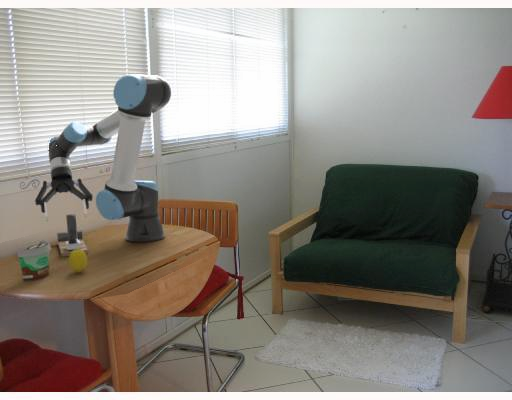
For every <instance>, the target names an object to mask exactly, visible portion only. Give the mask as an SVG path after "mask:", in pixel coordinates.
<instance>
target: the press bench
mask: <svg viewBox="0 0 512 400" xmlns="http://www.w3.org/2000/svg"><path fill="white" fill-rule="evenodd" d="M56 234H57V244H58V245H57V246H58V248H59V253H60V257H62V258H65V257H69V256H70V254H71V252H72V251H74V250H76V249H72V250H67V249H66V243H65V241H68V231H61V232H57V233H56ZM77 238H78V240H80V242H81V248H80V250H83V251H84V252H85V253H86V255H88V254H89V251H88V247H87V245H86V244H85V241H84V238H83V230H81V229H80V230H77Z"/></svg>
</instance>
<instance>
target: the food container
mask: <svg viewBox="0 0 512 400" xmlns="http://www.w3.org/2000/svg"><path fill="white" fill-rule="evenodd" d="M51 250H52V248H51V245H50V243H49V242H48V241H45V240H39V243H38V244H36V245H31V246H29V247H27V248H25V249H18V251H17V258H19V263H20V268H21V274H22V280H23V281H24V282H25V281H29V282H30V281H36V280H41V279H44V278H46V277H48V276H49V275H50V251H51Z"/></svg>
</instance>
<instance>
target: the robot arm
mask: <svg viewBox="0 0 512 400" xmlns="http://www.w3.org/2000/svg"><path fill="white" fill-rule="evenodd" d="M112 95H113V99H114V102H115V104H116V105H117V109H116V110H114V111H113V112H112V113H109V115H107V116H106V117H104V118H102V119H101V120H100V121H98V122H97V123H95V124H94V125H91V126H84V124H82V123H79V122H78V121H73V122H70V123H69V124H68V125H67V126H65V128H64V130H63V131H62V132H61V133H60V135H59V136H58V135H57V136H53V138H50V139H51V140H50V139H49V140H50V143H49V150H48V149H47V152H48V151H49V153H48V159H49V160H48V161H49V167H50V168H49V169H50V177H51V178H50V179H51V182H47V181H46V180H44V181H42V186H41V189H40V190H39V192H38V194H37V196H36V198H35V200H34V201H35V205H36V206H40V209H41V210H40V211H41V213H44V216H45V221H46V222H48V221H49V216H48V207H47V206H48V205H47V203H48V202H49V201H50V200H51V199H52V198H53V196H55V195H57V194H58V193H59V194H63V193H68V192H69V193H70V194H73V195H75V196H76V197H77V198H79V199H80V200H81V201H82V208H83V215H84V218H87V217H88V211H87V210H89V208H90V204H89V202H92V201H93V199H94V198H93V194H92V193H91V192H90V191H89V189H88V188H87V186H86V185H85V184H84V183H83V182H82V179H81V178H78V179H77V180H74V179H73V173H72V166H71V159H70V156H71V154H72V153H73V152H74V151H75V150H76V148H78V147H86V146H96V145H97V146H98V145H100V146H101V145H105V144H108V143H110V142H111V139H112V137H113V136H114V135H116V134H117V138H116V143H115V149H114V156H113V162H112V167H111V173H110V177H109V178H108V179H106V180H105V182H104V188H103V189H101V190H100V191H99V192H98V193H97V194H96V196H95V205H96V209H97V211H98V212H99V214H100V215H101V216H102V217H103V218H104V219H106V220H108V221H116V220H121V219H124V218H127V217H129V218H128V219H129V220H128V224H127V229H126V232H125V238H126V241H128V242H134V243H135V242H136V243H144V242H145V243H147V242H154V241H158V240H161V239H163V238H164V237H165V235H166V234H165V229H164V228H163V224H162V221H161V219H160V211H159V210H160V207H159V206H160V205H159V189H158V183H157V182H155V181H153V180H138V179H137V180H135V179H136V173H137V168H138V163H139V157H140V152H141V147H142V142H143V135H144V131H145V130H144V129H145V126H146V121H147V120H148V119H150V118H151V116H152V114H155V113H156V112H158V111H160V110H161V109H162V108H164V107H165V106H167V104H168V103H169V102H170V100H171V97H172V89H171V86H170V84H169V82H168V81H167V80H166V79H165V78H163V77H162V76H159V75H157V74H156V75H155V74H151V75H149V74H138V73H131V74H125V75H123V76H121V77H120V78H119V79H118V80H117V81H116V82H115V84H114V87H113V93H112ZM56 145H57V146H56ZM49 187H51V189H50V190H49V191H48V190H47V189H49ZM76 187H78V188H79V189H77V188H76ZM47 191H48V192H47ZM46 192H47V193H46ZM45 193H46V194H45Z"/></svg>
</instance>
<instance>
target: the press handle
mask: <svg viewBox="0 0 512 400" xmlns="http://www.w3.org/2000/svg"><path fill="white" fill-rule="evenodd" d="M65 217H66V230H67V231H66V232H68V241H65V243H66V249H67V250H72V249H76V248H78V249H80V248H81V242H80V240H78V238H77V231H78V228H77V218H76V217H77V216H76V214H75V213H74V214H73V213H72V214H67V215H66V216H65Z"/></svg>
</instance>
